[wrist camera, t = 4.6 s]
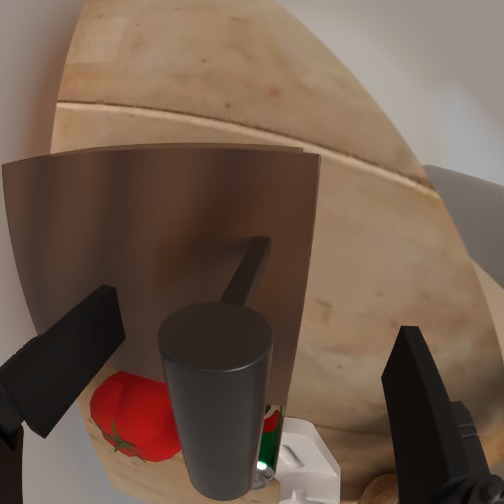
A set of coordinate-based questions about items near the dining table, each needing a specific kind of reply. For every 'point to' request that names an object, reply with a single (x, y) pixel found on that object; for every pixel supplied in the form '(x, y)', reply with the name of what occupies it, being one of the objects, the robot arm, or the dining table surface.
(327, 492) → the bracket
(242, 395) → the lid
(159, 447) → the tomato
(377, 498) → the bread roll
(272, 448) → the soda can
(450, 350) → the dining table surface
